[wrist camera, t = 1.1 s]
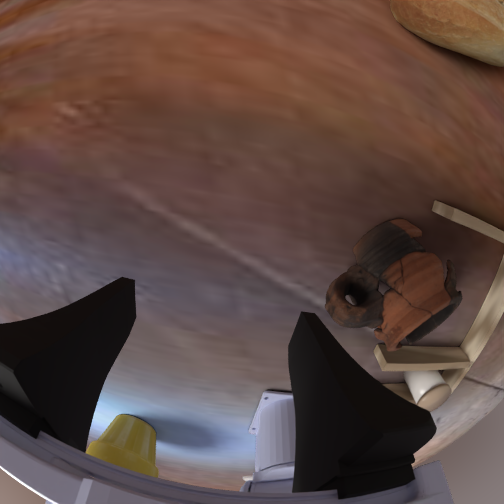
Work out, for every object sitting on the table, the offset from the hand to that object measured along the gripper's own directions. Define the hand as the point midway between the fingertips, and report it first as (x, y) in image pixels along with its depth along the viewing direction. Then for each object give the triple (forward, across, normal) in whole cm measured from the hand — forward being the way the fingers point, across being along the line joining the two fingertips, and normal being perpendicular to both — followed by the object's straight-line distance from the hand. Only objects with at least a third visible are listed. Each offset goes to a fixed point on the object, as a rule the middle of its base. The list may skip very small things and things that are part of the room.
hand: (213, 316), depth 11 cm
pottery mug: (+10, -13, +1) cm, 17 cm away
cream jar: (+9, -24, +12) cm, 28 cm away
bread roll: (+12, -15, -24) cm, 31 cm away
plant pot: (+9, +10, +33) cm, 35 cm away
